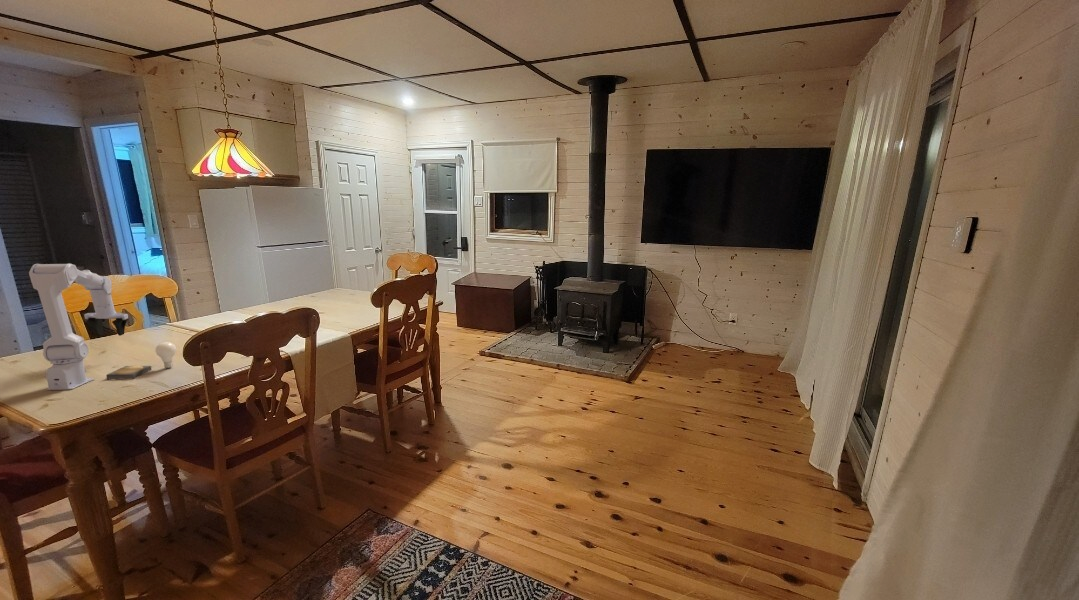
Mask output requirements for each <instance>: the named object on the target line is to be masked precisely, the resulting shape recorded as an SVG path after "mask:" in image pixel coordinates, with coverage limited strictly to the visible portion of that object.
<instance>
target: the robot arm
mask: <svg viewBox="0 0 1079 600" xmlns="http://www.w3.org/2000/svg"><path fill="white" fill-rule="evenodd" d="M28 275H29V278H30V281H31V285H32V288H33V289H34V290H36V291H37V293H38V296H39V300H40V302H41V306H42V309H43V312H44V316H45V320H46V322H47V325H48V329H49V332H50V333H49V334H50V335H51V336H50V338H47V340H45V341H43V343H42V347H43V351H42V354H43V357H44V360H46V361H47V362H49V363H50V364H51V366H50V367H49V368H47V370H46V371H45V377H46V381H47V388H45V390H46V391H51V390H52V391H57V390H58V391H59V390H60V391H61V390H73V389H76V388H78V387H80V386H82V385H85V384H86V383H89V382H91V381H94V380H95V378H94V377H87V374H86V368H85V363H84V359H85V358H87V356H89V355H88V354H89V346H88V344H87V343H86V341H85V339H84V337H83V336H80V335H77V334H75V333H74V332H73V329H72V325H71V322H70V319H69V316H68V312H67V307H66V304H65V300H64V297H63V293H62V292H63V291H64V290H66V289H68V288H70V287H71V285H72V284H73V283H76V284H78V285H80V286H83V287H84V289H85V290H86V291H89V293H90V297H91V300H92V301H91V302H92V304H93V309H94V311H95V312H87V313H85V314H83V315H84V319H85V320H86V321H85V323H86V324H88V325H89V326H90V327H91V328H92V329H93V330H94V332H95V333H96V334H97V335H98V336H102V335H103V334H104V333H105V332H104V326H103V320H104V319H105V320H112V321H111V323H112V324H113V326H114V328H115V329H116V333H117V335H118V336H119V337H120V336H123V335H125V330H126V329H125V328H126V325H127V323H128V320H129V315H128V313H121V312H117V311H116V309H115V305H114V302H113V297H112V294H111V293H112V291H113V289H112V285H113V284H112V280H111V278H110V277H109V276H106V275H99V274H97V273H95V272H91V270H89V269H83V270H80V269H78V268H77V266H76V264H72V263H49V264H48V263H45V264H44V263H35V264H32V266H31V268H30V270H29V272H28Z"/></svg>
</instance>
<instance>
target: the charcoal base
mask: <svg viewBox="0 0 1079 600" xmlns="http://www.w3.org/2000/svg"><path fill="white" fill-rule="evenodd" d="M150 371H152V365H125V366H123V367H120V368H119V369H116V370H114V371H111V372H109V373H107V374H106V375H105V376H106V379H107V380H130V379H131V380H135V379H136V378H139V377H140V376H142V375H145V374H147V373H149V372H150Z"/></svg>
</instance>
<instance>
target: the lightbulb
mask: <svg viewBox="0 0 1079 600" xmlns="http://www.w3.org/2000/svg"><path fill="white" fill-rule="evenodd" d="M154 352H155V353H156V355H157V356H158V357H159V358H160V359H161V361H162V363H163V368H165V369H171V368H173V366H174V364H173V363H174V362H173V360H174V356H175V354H176V353H177V346H176V345H175V344H174V343H173V342H171V341H163V342H161V343H159V344H158V345H157V346H156V347H155V351H154Z"/></svg>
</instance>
